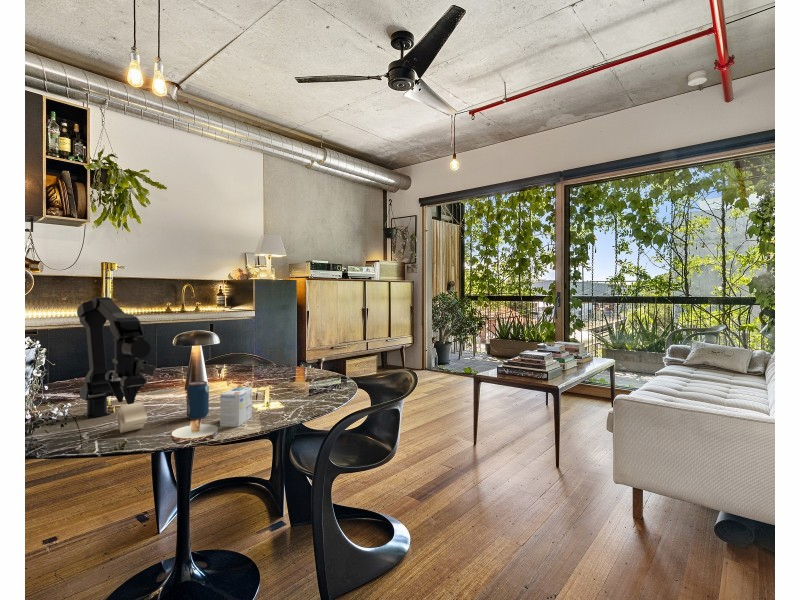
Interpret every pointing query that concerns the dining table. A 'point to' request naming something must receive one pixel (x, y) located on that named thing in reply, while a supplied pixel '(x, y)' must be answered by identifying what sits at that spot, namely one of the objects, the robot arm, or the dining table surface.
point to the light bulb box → (235, 406)
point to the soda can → (197, 400)
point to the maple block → (131, 417)
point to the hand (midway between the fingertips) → (125, 404)
